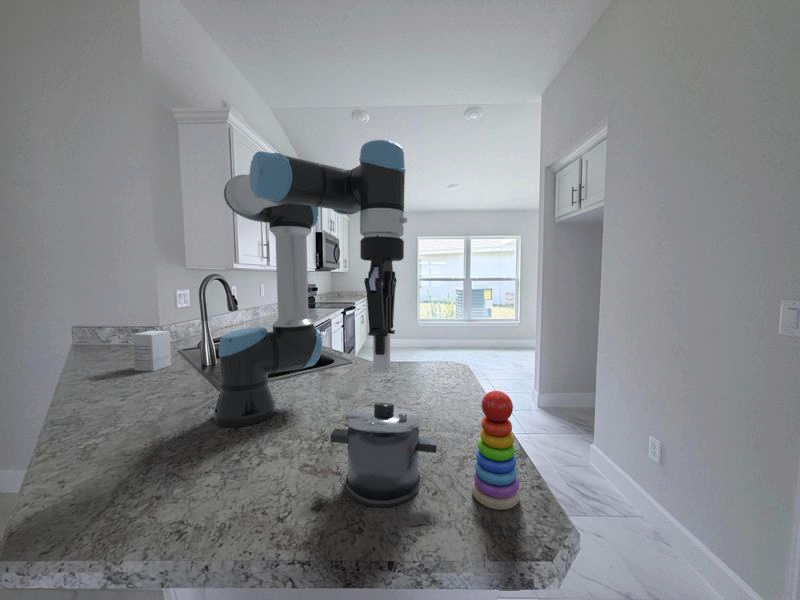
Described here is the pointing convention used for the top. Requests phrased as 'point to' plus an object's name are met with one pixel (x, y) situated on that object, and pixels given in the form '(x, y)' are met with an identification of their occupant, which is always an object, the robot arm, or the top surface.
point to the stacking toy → (496, 455)
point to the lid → (383, 419)
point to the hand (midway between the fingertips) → (381, 370)
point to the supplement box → (151, 350)
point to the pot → (383, 465)
